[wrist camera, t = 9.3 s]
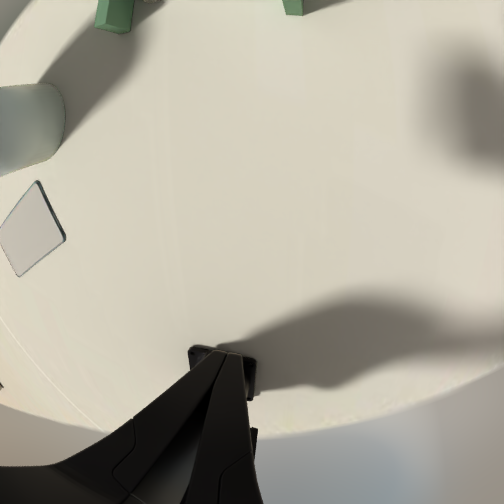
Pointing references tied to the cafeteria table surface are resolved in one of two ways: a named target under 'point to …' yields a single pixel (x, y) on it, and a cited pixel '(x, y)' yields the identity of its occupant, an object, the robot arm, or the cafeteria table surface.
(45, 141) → the round-topped grey cylinder
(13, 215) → the smartphone
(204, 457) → the robot arm
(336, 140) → the cafeteria table surface
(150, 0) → the tin
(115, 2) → the bay
